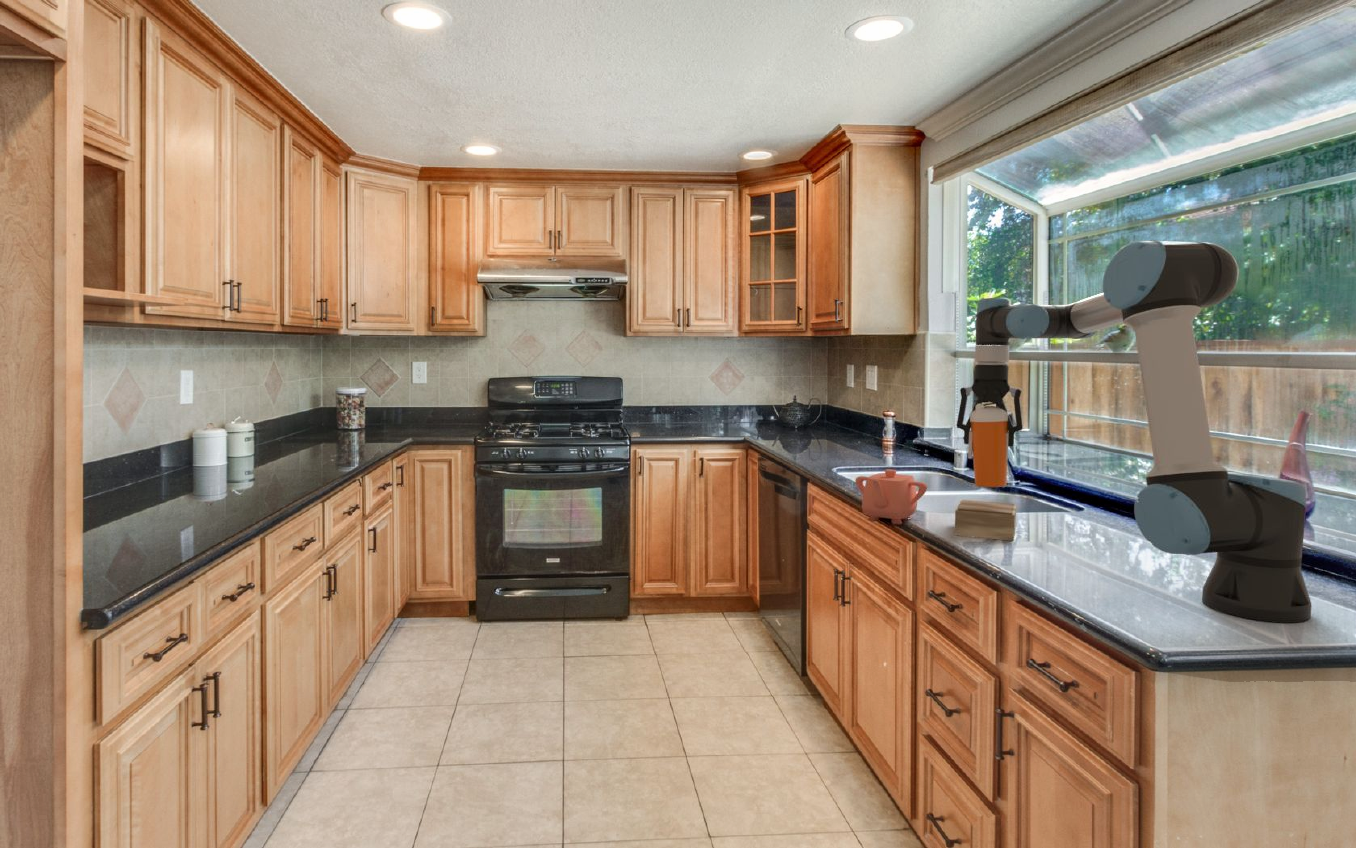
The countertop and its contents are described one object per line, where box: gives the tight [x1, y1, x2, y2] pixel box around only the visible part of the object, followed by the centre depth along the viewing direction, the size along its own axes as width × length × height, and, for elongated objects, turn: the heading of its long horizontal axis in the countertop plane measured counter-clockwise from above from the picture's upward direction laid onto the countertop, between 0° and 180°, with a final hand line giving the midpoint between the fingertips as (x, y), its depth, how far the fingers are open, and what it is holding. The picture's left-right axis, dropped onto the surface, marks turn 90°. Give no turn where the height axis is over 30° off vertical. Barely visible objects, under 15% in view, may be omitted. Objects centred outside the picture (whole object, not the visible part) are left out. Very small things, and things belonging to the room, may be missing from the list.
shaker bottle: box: [968, 401, 1010, 488], centre depth 188 cm, size 9×9×20 cm
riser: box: [954, 499, 1017, 542], centre depth 190 cm, size 13×13×6 cm
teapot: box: [855, 468, 928, 525], centre depth 204 cm, size 17×16×13 cm
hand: (987, 458), depth 189 cm, fingers closed on shaker bottle, 7 cm apart
